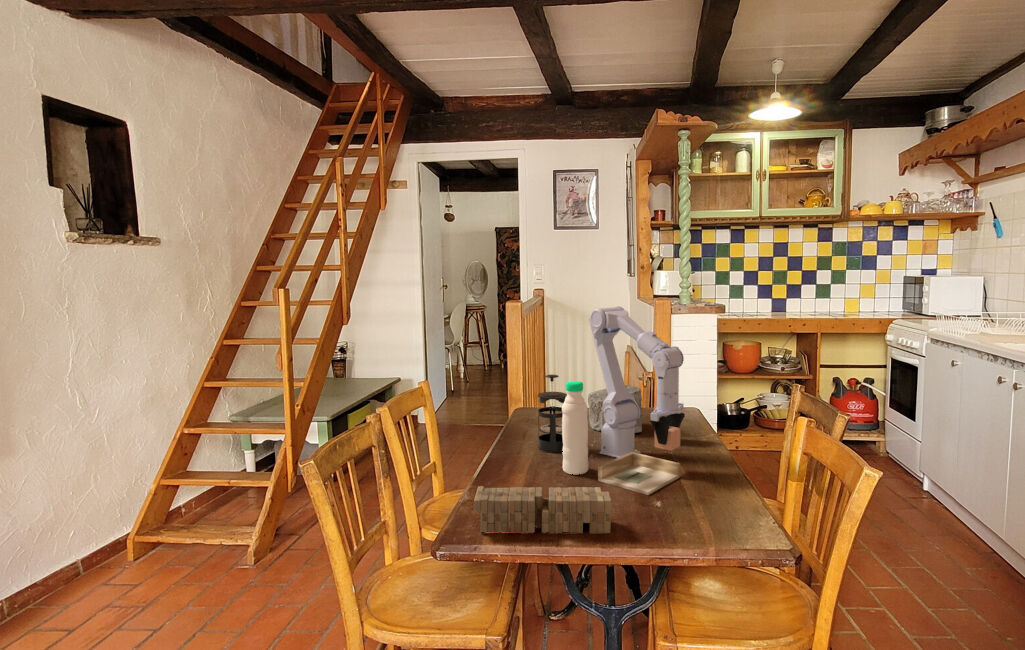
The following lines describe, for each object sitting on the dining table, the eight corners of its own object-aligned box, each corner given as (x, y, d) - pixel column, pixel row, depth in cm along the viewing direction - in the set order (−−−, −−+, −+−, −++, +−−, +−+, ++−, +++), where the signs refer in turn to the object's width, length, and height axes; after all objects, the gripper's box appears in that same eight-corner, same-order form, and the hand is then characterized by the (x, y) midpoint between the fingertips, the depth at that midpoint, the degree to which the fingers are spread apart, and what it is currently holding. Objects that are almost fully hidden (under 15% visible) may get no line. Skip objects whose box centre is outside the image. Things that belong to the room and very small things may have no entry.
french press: (568, 453, 180) (567, 378, 178) (537, 453, 181) (536, 378, 178) (567, 441, 192) (566, 370, 189) (538, 441, 193) (536, 371, 190)
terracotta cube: (671, 450, 159) (671, 432, 159) (654, 447, 163) (654, 428, 162) (680, 446, 163) (680, 427, 162) (663, 442, 166) (663, 424, 166)
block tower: (606, 523, 135) (477, 519, 137) (607, 487, 135) (477, 483, 136) (610, 539, 128) (473, 534, 129) (611, 501, 127) (473, 497, 128)
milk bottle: (591, 468, 167) (590, 380, 164) (583, 477, 161) (582, 385, 158) (567, 465, 170) (566, 378, 167) (559, 473, 164) (557, 383, 161)
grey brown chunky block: (581, 424, 212) (580, 382, 211) (625, 418, 217) (625, 378, 216) (605, 438, 194) (604, 393, 193) (652, 432, 200) (652, 388, 198)
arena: (598, 480, 158) (597, 466, 157) (631, 464, 169) (631, 451, 169) (648, 495, 148) (648, 480, 147) (679, 477, 159) (680, 463, 159)
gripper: (667, 399, 153) (667, 451, 155) (693, 389, 164) (693, 437, 165) (643, 395, 158) (643, 445, 159) (670, 386, 168) (670, 433, 170)
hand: (667, 441), depth 163 cm, fingers closed on terracotta cube, 5 cm apart
